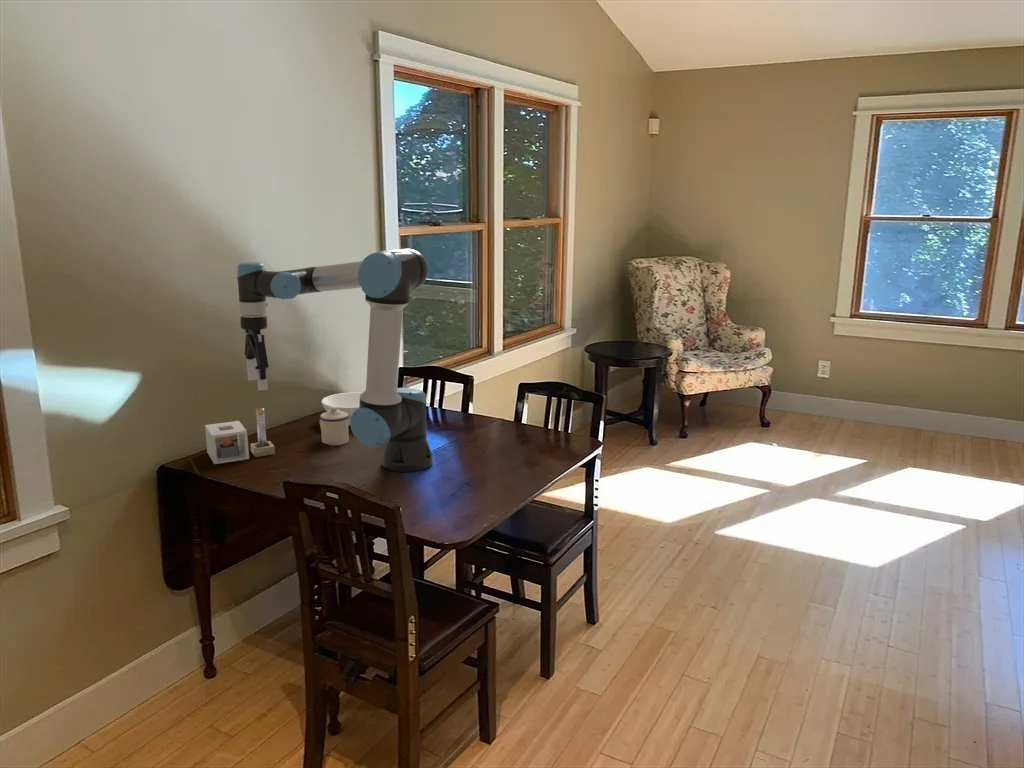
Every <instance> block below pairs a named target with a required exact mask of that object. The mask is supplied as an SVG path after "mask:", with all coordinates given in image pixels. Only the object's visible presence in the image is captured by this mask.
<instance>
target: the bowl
mask: <svg viewBox="0 0 1024 768" xmlns="http://www.w3.org/2000/svg"><path fill="white" fill-rule="evenodd" d="M363 392H364V391H363ZM363 392H361V391H359V392H358V391H357V392H354V391H353V392H341V393H335V394H331V395H328V396H325V397H323V398H322V400H321V404H322V406H323V408H324V410H325V412H327V411H329V410H331V407H337V410H340V411H343V412H346V413H347V414H348V416H349V417H348V426H351V425H350V419H351V416H352V414H353V413H354V412H355V411H356V410H357V409H359V402H360V395H361V394H362V393H363Z"/></svg>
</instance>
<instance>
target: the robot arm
mask: <svg viewBox="0 0 1024 768" xmlns="http://www.w3.org/2000/svg"><path fill="white" fill-rule="evenodd" d="M428 265H429V264H428V262H427V260H426V258H425V257H424V255H423V254H422V253H420V252H419V251H418V250H415V249H413V248H412V249H411V248H399V249H388V250H384V249H383V250H379V251H376V252H373V253H370V254H368V255H367V256H366V257H365V258H364V259H363V260H361V261H352V262H345V263H338V264H336V263H335V264H329V265H321V266H311V267H310V266H309V267H305V268H304V267H303V268H297V269H290V270H281V271H280V270H279V271H273V270H271V271H269V270H266V269H265V266H264V264H263V263H262V262H251V261H250V262H240V263H239V264H238V265H237V268H236V269H237V270H236V271H237V272H236V274H237V276H236V279H237V289H238V306H239V308H238V309H239V314H240V315H241V316H240V317H239V319H240V328H241V329H242V330H243V331H244V332H245V339H244V341H245V342H244V344H245V345H244V356H245V358H246V369H247V372H246V373H247V380H248V381H249V382H250V381H256V380H257V390H258V391H266V390H267V391H268V390H269V389H268V388H269V384H268V383H269V382H268V369H267V368H269V365H270V364H269V361H268V355H267V350H266V342H265V334H261V333H262V332H261V331H262V330H265V329H267V328H268V320H267V319H268V317H267V315H266V314H267V307H268V306H269V304H268V303H267V302H266V300H267V298H274V299H281V300H292V299H295V298H296V297H297V296H300V295H304V294H312V293H321V292H330V291H331V292H333V291H341V290H353V289H361V290H362V292H363V293H364V295H365V299H364V300H365V302H366V303H367V304H368V305H369V306H370V308H369V309H370V311H369V329H368V346H367V361H366V362H367V363H366V364H367V365H366V379H365V380H366V381H365V382H366V383H365V389H364V391H363V393H362V394H361V395H360V402H359V409H357V410H356V411H355V412H354V413H353V414H352V416H351V419H350V425H349V426H350V429H351V431H352V434H353V436H355V438H356V439H357V440H358V442H359V443H360V444H362V445H364V446H366V447H370V448H377V447H379V446H384V445H385V446H384V450H383V453H382V457H381V463H382V464H381V465H382V467H383V468H385V469H386V470H388V471H392V472H399V473H402V472H403V473H407V472H408V473H409V472H418V471H421V470H422V471H423V470H425V469H427V468H430V467H431V466H432V465H433V464H434V461H433V460H434V459H433V458H434V457H433V453H432V450H431V448H430V444H429V442H428V439H427V403H428V402H427V398H426V393H425V392H424V391H423V390H421V389H419V388H418V389H417V388H410V387H398V385H399V384H398V383H399V381H398V380H399V370H400V369H399V368H400V353H401V337H402V323H403V313H404V308H405V307H407V306H408V305H409V304H410V292H411V291H415V290H417V289H419V288H420V287H422V286H423V284H424V283H425V282H426V280H427V278H428V275H429V274H428V273H429V267H428Z"/></svg>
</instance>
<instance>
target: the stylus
mask: <svg viewBox="0 0 1024 768" xmlns="http://www.w3.org/2000/svg"><path fill="white" fill-rule="evenodd" d="M255 415H256V419H255V420H256V432H257V443H258V447H259V448H260V447H266V446H267V445H266V441H267V435H266V434H267V433H266V420H265V419H266V417H265V415H266V414H265V408H264V407H256V408H255Z"/></svg>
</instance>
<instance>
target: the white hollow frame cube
mask: <svg viewBox="0 0 1024 768" xmlns="http://www.w3.org/2000/svg"><path fill="white" fill-rule="evenodd" d="M204 430H205V438H206V439H205V440H206V441H205V442H206V451H207V454H208V456H209V458H210V459H211V461H212V463H213V465H217V464H218V465H219V464H225V463H231V462H239V461H245V460H249V459H250V453H249V452H250V451H249V440H248V437H249V435H248V430H247V428H245V427H244V425H243V423H241V422H240V420H235V421H228V422H227V421H226V422H218V423H213V424H211V423H210V424H205V425H204ZM225 436H232V437H233V436H236V437H237V441H234V440H232V446H230V447H222V442H218V443H216V439H217V438H221V437H225Z"/></svg>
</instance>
